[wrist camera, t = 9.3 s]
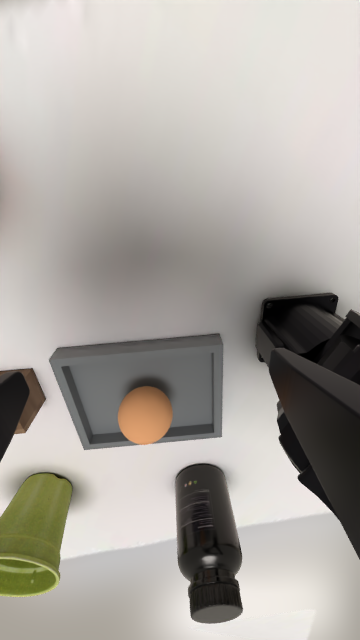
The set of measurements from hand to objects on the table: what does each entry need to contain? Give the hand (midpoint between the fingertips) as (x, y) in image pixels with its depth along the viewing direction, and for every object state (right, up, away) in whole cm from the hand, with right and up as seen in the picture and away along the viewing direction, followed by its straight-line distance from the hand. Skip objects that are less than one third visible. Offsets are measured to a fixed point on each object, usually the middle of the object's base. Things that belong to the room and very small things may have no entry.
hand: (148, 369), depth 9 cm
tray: (-2, -5, +16) cm, 17 cm away
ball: (-2, -7, +13) cm, 15 cm away
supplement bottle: (+4, -20, +24) cm, 31 cm away
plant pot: (-16, -20, +23) cm, 34 cm away
